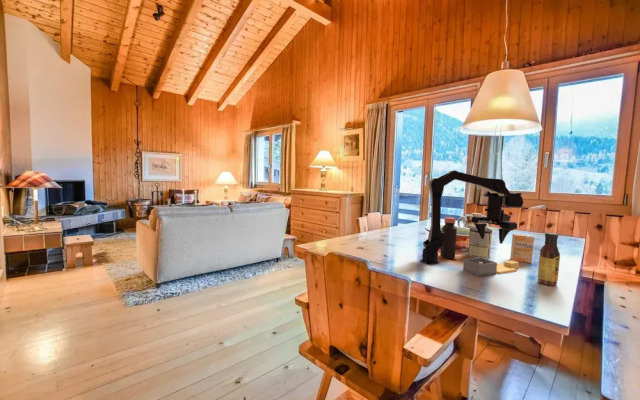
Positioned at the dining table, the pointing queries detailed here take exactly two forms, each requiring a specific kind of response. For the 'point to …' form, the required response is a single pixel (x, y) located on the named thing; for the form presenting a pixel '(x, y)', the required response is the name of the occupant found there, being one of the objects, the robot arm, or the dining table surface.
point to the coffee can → (479, 243)
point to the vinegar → (449, 239)
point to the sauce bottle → (549, 261)
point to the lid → (507, 267)
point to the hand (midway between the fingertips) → (491, 241)
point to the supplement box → (522, 248)
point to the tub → (480, 266)
